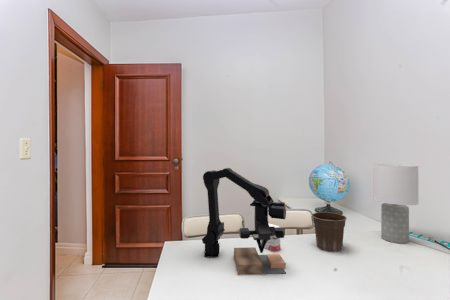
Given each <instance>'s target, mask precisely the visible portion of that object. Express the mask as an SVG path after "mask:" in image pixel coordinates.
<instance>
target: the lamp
mask: <svg viewBox="0 0 450 300" xmlns="http://www.w3.org/2000/svg"><path fill="white" fill-rule="evenodd" d="M372 186H373V187H372V199H373V201H375V202H378V203H381V204H380V205H381V207H380V208H381V209H380V211H381V216H380V217H381V218H380V221H381V224H380V225H381V226H380V227H381V231H380V232H381V235H380V236H381V239H382V240H385V241H386V242H389V243H393V244H399V245H400V244H401V245H403V244H404V245H405V244H406V245H407V244H408V243H410V207H409V206H417V205H419V165H413V164H398V163H397V164H394V163H393V164H392V163H391V164H389V163H388V164H386V163H381V164H379V163H378V164H377V163H375V164H373V165H372Z"/></svg>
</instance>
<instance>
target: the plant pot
mask: <svg viewBox="0 0 450 300" xmlns="http://www.w3.org/2000/svg"><path fill="white" fill-rule="evenodd" d="M311 217H312V220H313V224H314V231H315V233H314V234H315V240H316V246H317V248H318V249H320V250H322V251H324V250H326V252H331V253H337V252H341V251H342V250H343V246H344V245H343V243H344V232H345V227H346V221H347V217H346V215H343V214H341V213H335V212H330V211H323V212H322V211H320V212H319V211H317V212H314V213H312V214H311Z"/></svg>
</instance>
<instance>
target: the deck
mask: <svg viewBox="0 0 450 300" xmlns="http://www.w3.org/2000/svg"><path fill="white" fill-rule="evenodd" d="M259 255H260V254H259V252H258V250H257V248H256V247H255V246H254V247H251V246H250V247H233V258H234V264H235V269H236V273H237V276H247V275H248V276H251V275H255V276H256V275H264V274H263V264H262V262H261V259H260V257H259Z"/></svg>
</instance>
